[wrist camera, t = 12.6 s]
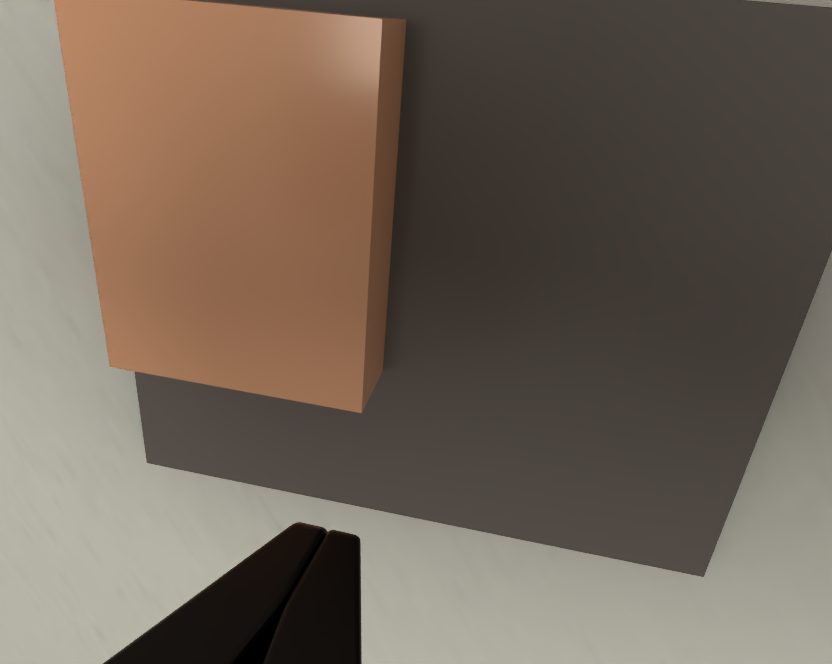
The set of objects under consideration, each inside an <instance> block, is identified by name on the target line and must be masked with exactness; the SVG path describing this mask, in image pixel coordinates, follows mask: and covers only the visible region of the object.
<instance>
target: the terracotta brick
mask: <svg viewBox="0 0 832 664" xmlns="http://www.w3.org/2000/svg"><path fill="white" fill-rule="evenodd" d="M54 4H55V10H56V17H57V23H58V30H59V36H60V43H61V50H62V56H63V63H64V69H65V76H66V82H67V89H68V95H69V102H70V108H71V115H72V122H73V128H74V135H75V141H76V148H77V154H78V161H79V167H80V174H81V180H82V187H83V193H84V200H85V207H86V213H87V220H88V226H89V233H90V239H91V246H92V252H93V259H94V265H95V272H96V279H97V285H98V292H99V298H100V305H101V311H102V318H103V324H104V331H105V337H106V344H107V350H108V357H109V364H110V367H114V368H119V369H125V370H130V371H136V372H141V373H147V374H152V375H157V376H163V377H168V378H174V379H179V380H185V381H190V382H195V383H201V384H206V385H212V386H217V387H222V388H228V389H233V390H239V391H244V392H250V393H255V394H260V395H266V396H271V397H277V398H282V399H288V400H293V401H298V402H304V403H309V404H315V405H320V406H325V407H331V408H336V409H342V410H347V411H353V412H358V413H362V411H363V409H364V407H365V405H366V404H367V402H368V400H369V398H370V396H371V394H372V392H373V390H374V388H375V386H376V384H377V382H378V380H379V378H380V376H381V374H382V372H383V359H384V345H385V330H386V315H387V300H388V286H389V271H390V256H391V241H392V226H393V212H394V197H395V182H396V167H397V153H398V138H399V123H400V108H401V93H402V79H403V64H404V49H405V34H406V20H407V19H397V18H387V17H376V16H365V15H355V14H344V13H334V12H323V11H312V10H302V9H291V8H280V7H270V6H259V5H249V4H238V3H227V2H217V1H206V0H54Z"/></svg>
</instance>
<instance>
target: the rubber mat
mask: <svg viewBox="0 0 832 664" xmlns="http://www.w3.org/2000/svg"><path fill="white" fill-rule="evenodd" d="M206 1H217V2H227V3H238V4H249V5H259V6H270V7H280V8H291V9H302V10H312V11H323V12H334V13H344V14H355V15H365V16H376V17H387V18H397V19H407V20H406V34H405V49H404V64H403V79H402V93H401V108H400V123H399V138H398V153H397V167H396V182H395V197H394V212H393V226H392V241H391V256H390V271H389V286H388V300H387V315H386V330H385V345H384V359H383V372H382V374H381V376H380V378H379V380H378V382H377V384H376V386H375V388H374V390H373V392H372V394H371V396H370V398H369V400H368V402H367V404H366V405H365V407H364V409H363V411H362V413H358V412H353V411H347V410H342V409H336V408H331V407H325V406H320V405H315V404H309V403H304V402H298V401H293V400H288V399H282V398H277V397H271V396H266V395H260V394H255V393H250V392H244V391H239V390H233V389H228V388H222V387H217V386H212V385H206V384H201V383H195V382H190V381H185V380H179V379H174V378H168V377H163V376H157V375H152V374H147V373H141V372H136V371H135V377H136V385H137V392H138V400H139V407H140V415H141V422H142V429H143V437H144V444H145V452H146V459H147V463H150V464H155V465H160V466H165V467H170V468H175V469H180V470H184V471H189V472H194V473H199V474H204V475H209V476H214V477H219V478H224V479H228V480H233V481H238V482H243V483H248V484H253V485H258V486H263V487H267V488H272V489H277V490H282V491H287V492H292V493H297V494H302V495H306V496H311V497H316V498H321V499H326V500H331V501H336V502H341V503H346V504H350V505H355V506H360V507H365V508H370V509H375V510H380V511H385V512H389V513H394V514H399V515H404V516H409V517H414V518H419V519H424V520H428V521H433V522H438V523H443V524H448V525H453V526H458V527H463V528H468V529H472V530H477V531H482V532H487V533H492V534H497V535H502V536H507V537H511V538H516V539H521V540H526V541H531V542H536V543H541V544H546V545H550V546H555V547H560V548H565V549H570V550H575V551H580V552H585V553H589V554H594V555H599V556H604V557H609V558H614V559H619V560H624V561H629V562H633V563H638V564H643V565H648V566H653V567H658V568H663V569H668V570H672V571H677V572H682V573H687V574H692V575H697V576H702V577H704V575H705V572H706V569H707V567H708V564H709V562H710V559H711V557H712V554H713V552H714V549H715V546H716V544H717V541H718V539H719V536H720V534H721V531H722V529H723V526H724V524H725V521H726V518H727V516H728V513H729V511H730V508H731V506H732V503H733V501H734V498H735V495H736V493H737V490H738V488H739V485H740V483H741V480H742V478H743V475H744V472H745V470H746V467H747V465H748V462H749V460H750V457H751V455H752V452H753V450H754V447H755V444H756V442H757V439H758V437H759V434H760V432H761V429H762V427H763V424H764V421H765V419H766V416H767V414H768V411H769V409H770V406H771V404H772V401H773V399H774V396H775V393H776V391H777V388H778V386H779V383H780V381H781V378H782V376H783V373H784V370H785V368H786V365H787V363H788V360H789V358H790V355H791V353H792V350H793V348H794V345H795V342H796V340H797V337H798V335H799V332H800V330H801V327H802V325H803V322H804V319H805V317H806V314H807V312H808V309H809V307H810V304H811V302H812V299H813V297H814V294H815V291H816V289H817V286H818V284H819V281H820V279H821V276H822V274H823V271H824V268H825V266H826V263H827V261H828V258H829V256H830V253H831V251H832V8H829V7H817V6H805V5H793V4H781V3H769V2H757V1H744V0H206Z"/></svg>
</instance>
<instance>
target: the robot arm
mask: <svg viewBox="0 0 832 664" xmlns="http://www.w3.org/2000/svg"><path fill="white" fill-rule="evenodd" d="M103 664H362V661H361V556H360V538H359V537H358V536H356V535H353V534H349V533H344V532H340V531H336V530H331V531H329V532H327V530H326V529H324V528H323V527H319V526H314V525H310V524H306V523H301V522H298V523H295V524H293V525H291V526H290V527H288V528H287V529H286V530H284V531H283V532H281V533H280V534H279V535H277V536H276V537H275V538H273V539H272V540H271V541H269V542H268V543H266V544H265V545H264V546H262V547H261V548H260V549H258V550H257V551H256V552H254V553H253V554H252V555H250V556H249V557H247V558H246V559H245V560H243V561H242V562H241V563H239V564H238V565H237V566H235V567H234V568H232V569H231V570H230V571H228V572H227V573H226V574H224V575H223V576H222V577H220V578H219V579H218V580H216V581H215V582H213V583H212V584H211V585H209V586H208V587H207V588H205V589H204V590H203V591H201V592H200V593H198V594H197V595H196V596H194V597H193V598H192V599H190V600H189V601H188V602H186V603H185V604H183V605H182V606H181V607H179V608H178V609H177V610H175V611H174V612H173V613H171V614H170V615H169V616H167V617H166V618H164V619H163V620H162V621H160V622H159V623H158V624H156V625H155V626H154V627H152V628H151V629H149V630H148V631H147V632H145V633H144V634H143V635H141V636H140V637H139V638H137V639H136V640H134V641H133V642H132V643H130V644H129V645H128V646H126V647H125V648H124V649H122V650H121V651H120V652H118V653H117V654H115V655H114V656H113V657H111V658H110V659H109V660H107V661H106V662H105V663H103Z"/></svg>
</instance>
